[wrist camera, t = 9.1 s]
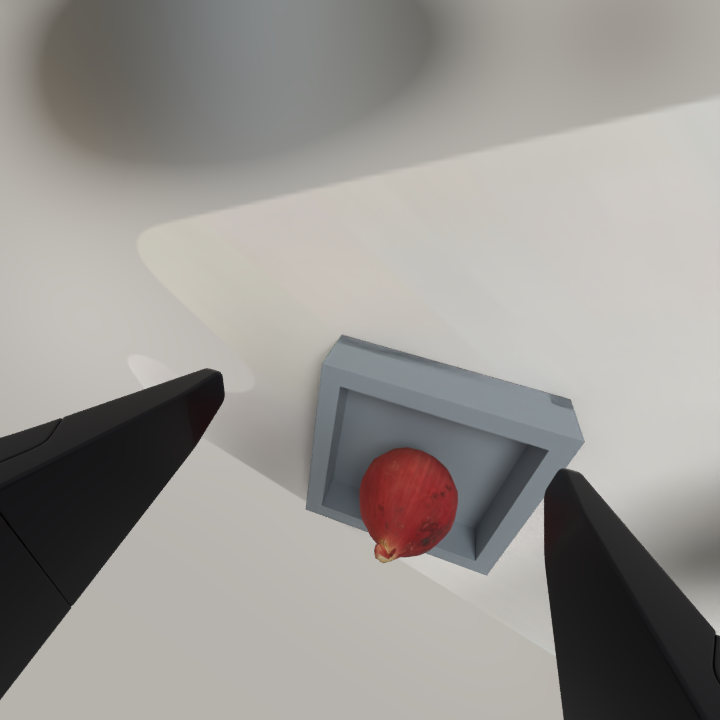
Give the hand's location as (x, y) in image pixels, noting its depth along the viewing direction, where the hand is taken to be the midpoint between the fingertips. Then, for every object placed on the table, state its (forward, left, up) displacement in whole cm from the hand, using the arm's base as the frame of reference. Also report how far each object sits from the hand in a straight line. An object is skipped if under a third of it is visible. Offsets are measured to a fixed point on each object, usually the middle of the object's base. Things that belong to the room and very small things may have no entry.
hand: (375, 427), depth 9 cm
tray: (-3, +12, -12) cm, 17 cm away
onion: (-3, +12, -11) cm, 17 cm away
